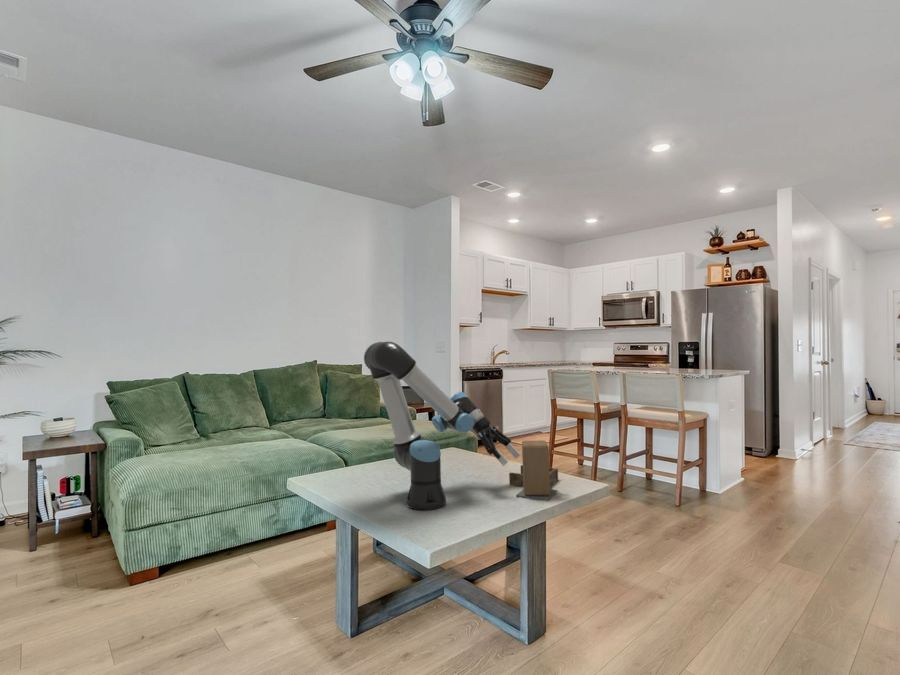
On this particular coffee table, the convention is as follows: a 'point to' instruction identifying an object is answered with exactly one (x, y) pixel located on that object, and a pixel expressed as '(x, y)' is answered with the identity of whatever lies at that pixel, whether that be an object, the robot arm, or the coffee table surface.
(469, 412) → the robot arm
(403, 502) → the coffee table surface
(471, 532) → the coffee table surface
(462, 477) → the coffee table surface
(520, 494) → the pad
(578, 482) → the coffee table surface
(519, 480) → the wooden u-shaped frame
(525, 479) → the wooden block
